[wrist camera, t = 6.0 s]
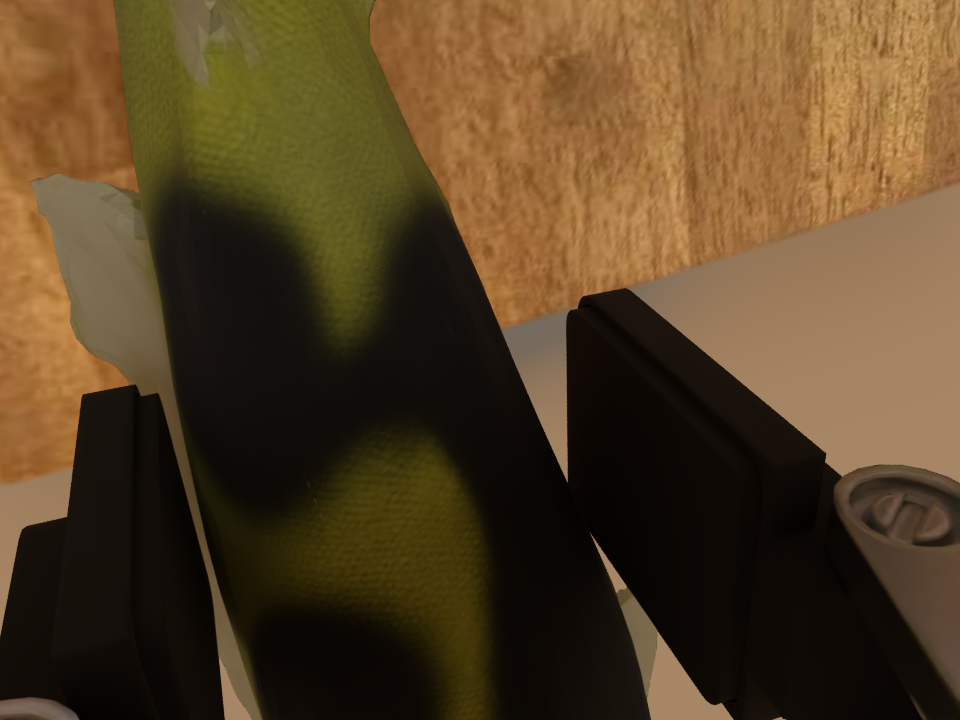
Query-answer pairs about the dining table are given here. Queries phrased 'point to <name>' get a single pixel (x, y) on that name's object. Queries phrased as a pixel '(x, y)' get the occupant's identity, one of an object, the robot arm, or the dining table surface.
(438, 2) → the dining table surface
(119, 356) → the fish
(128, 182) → the dining table surface
